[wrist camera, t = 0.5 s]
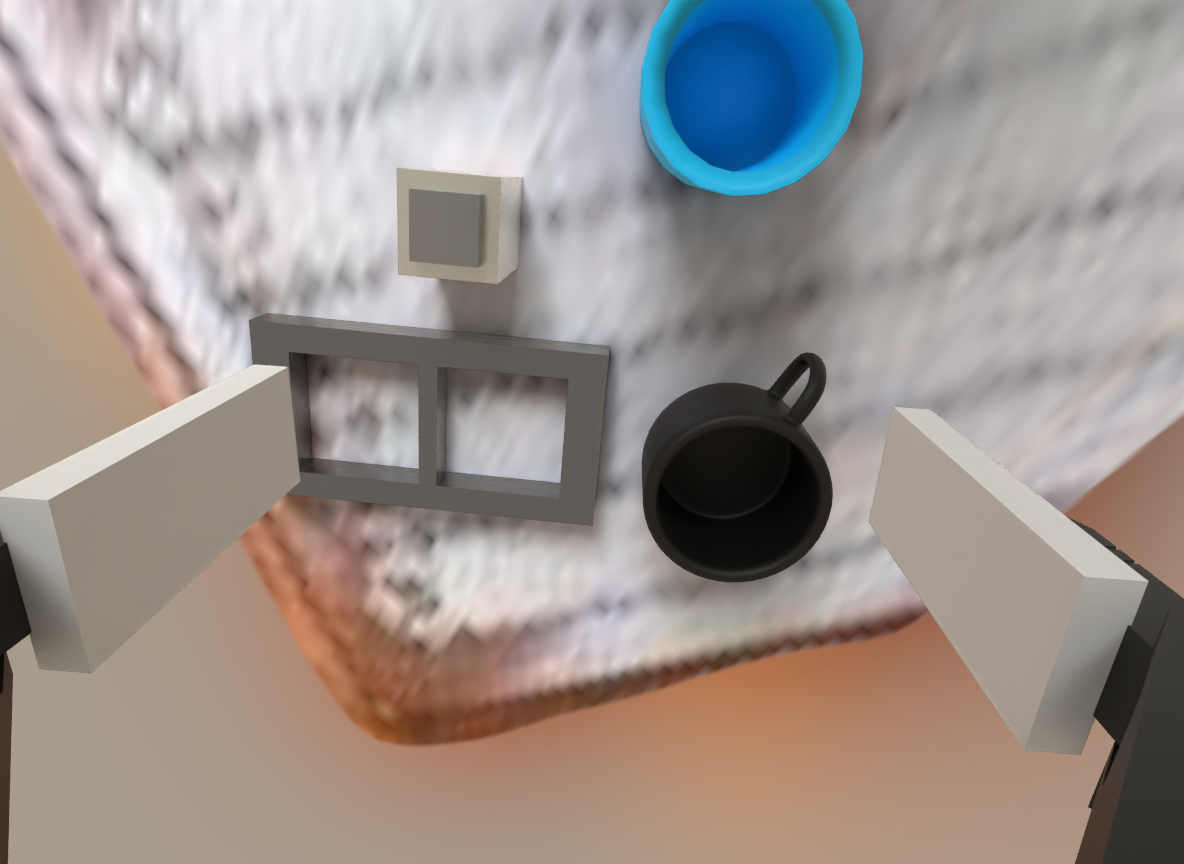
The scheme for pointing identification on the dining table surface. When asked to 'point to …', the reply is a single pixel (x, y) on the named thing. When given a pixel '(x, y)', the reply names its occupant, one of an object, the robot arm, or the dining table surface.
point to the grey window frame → (444, 415)
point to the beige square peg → (458, 224)
